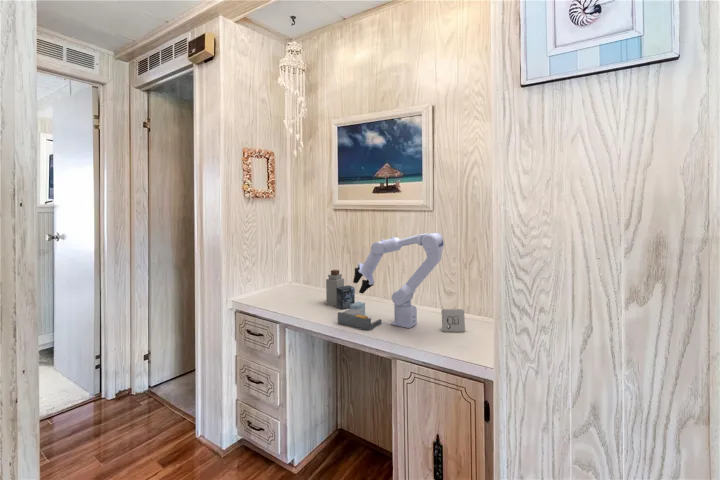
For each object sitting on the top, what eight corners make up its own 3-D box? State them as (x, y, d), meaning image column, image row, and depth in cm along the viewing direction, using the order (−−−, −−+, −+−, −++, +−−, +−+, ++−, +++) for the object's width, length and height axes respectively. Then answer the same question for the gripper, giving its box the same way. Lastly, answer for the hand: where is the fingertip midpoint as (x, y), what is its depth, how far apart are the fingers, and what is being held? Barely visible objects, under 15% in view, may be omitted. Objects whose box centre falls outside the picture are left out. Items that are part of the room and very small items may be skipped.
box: (342, 310, 185) (341, 289, 184) (336, 307, 190) (336, 287, 189) (355, 307, 190) (354, 287, 188) (349, 304, 194) (349, 285, 193)
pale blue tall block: (365, 314, 178) (365, 302, 177) (356, 318, 172) (356, 306, 171) (358, 313, 180) (358, 301, 179) (349, 317, 174) (349, 305, 173)
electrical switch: (442, 332, 154) (442, 310, 154) (440, 329, 159) (440, 307, 159) (465, 332, 153) (465, 310, 153) (462, 329, 158) (462, 307, 158)
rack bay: (381, 323, 164) (381, 311, 164) (369, 330, 156) (369, 318, 155) (350, 317, 174) (350, 306, 173) (337, 323, 165) (337, 311, 164)
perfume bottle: (344, 303, 197) (344, 270, 195) (337, 306, 191) (336, 272, 189) (334, 301, 201) (333, 268, 199) (326, 304, 195) (325, 270, 193)
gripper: (357, 254, 173) (345, 277, 178) (369, 272, 162) (356, 296, 167) (369, 256, 177) (357, 279, 182) (382, 274, 166) (369, 298, 171)
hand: (358, 287), depth 175 cm, fingers open, 7 cm apart
